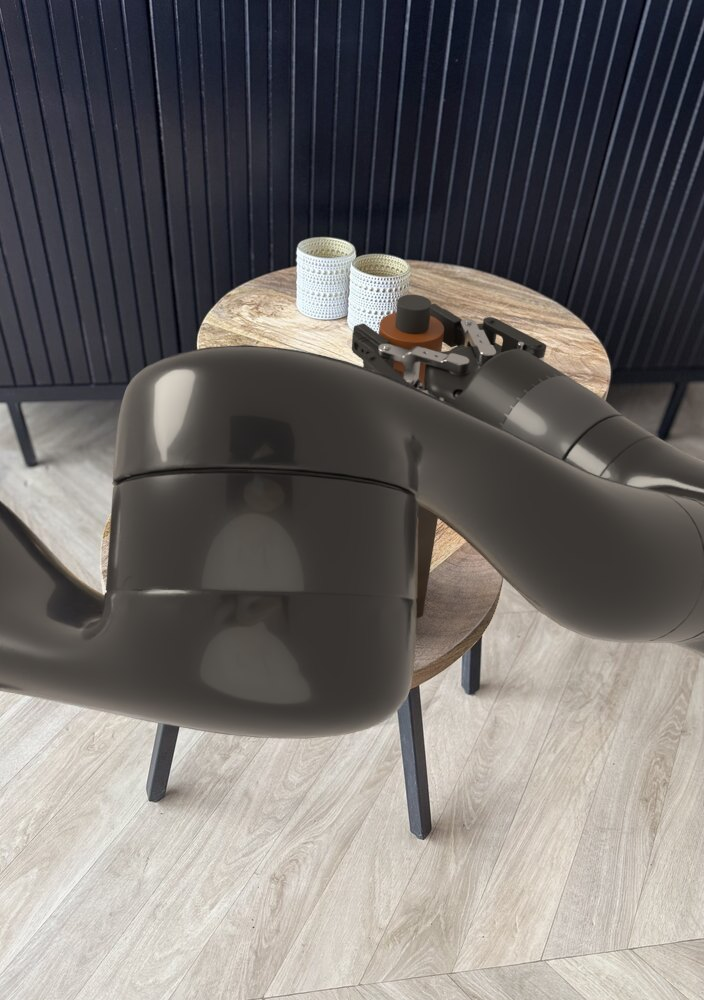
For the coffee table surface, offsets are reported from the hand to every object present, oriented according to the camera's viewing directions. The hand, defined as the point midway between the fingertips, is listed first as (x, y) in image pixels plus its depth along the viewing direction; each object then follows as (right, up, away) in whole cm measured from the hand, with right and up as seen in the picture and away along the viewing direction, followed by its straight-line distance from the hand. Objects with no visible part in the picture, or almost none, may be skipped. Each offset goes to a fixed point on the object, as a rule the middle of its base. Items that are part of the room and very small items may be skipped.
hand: (392, 325), depth 64 cm
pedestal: (0, -25, +18) cm, 31 cm away
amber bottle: (+1, -8, +4) cm, 9 cm away
